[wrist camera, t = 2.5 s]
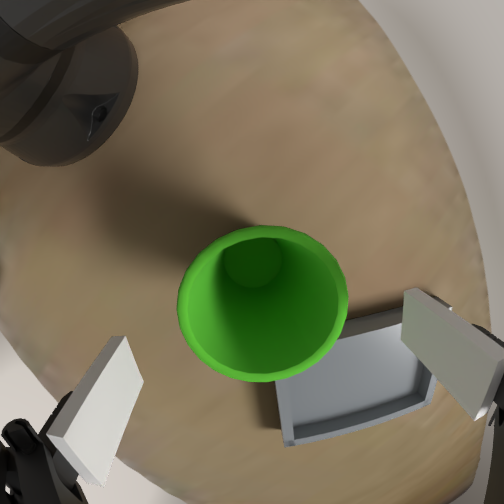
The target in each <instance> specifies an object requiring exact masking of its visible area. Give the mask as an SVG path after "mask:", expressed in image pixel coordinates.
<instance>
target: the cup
mask: <svg viewBox="0 0 504 504" xmlns="http://www.w3.org/2000/svg"><path fill="white" fill-rule="evenodd" d="M347 309H348V290H347V285H346V280H345V276H344V274H343V272H342V270H341V268H340V266H339V264H338V262H337V260H336V259H335V258H334V257H333V256H332V254H331V253H330V252H329V251H328V250H327V249H326V248H325V247H324V246H323V245H322V244H321V243H319V242H318V241H316V240H314V239H313V238H311V237H310V236H308V235H307V234H305V233H302V232H299V231H296V230H293V229H290V228H287V227H282V226H266V225H259V226H254V227H248V228H243V229H238V230H235V231H233V232H231V233H229V234H226V235H224V236H222V237H220V238H218V239H216V240H215V241H213V242H212V243H211V244H210V245H208V246H207V247H206V248H205V249H203V250H202V251H201V252H200V253H199V254H198V255H197V256H196V258H195V259H194V260H193V262H192V263H191V264H190V266H189V267H188V268H187V270H186V272H185V274H184V277H183V279H182V282H181V284H180V287H179V290H178V299H177V315H178V320H179V326H180V329H181V331H182V333H183V336H184V338H185V340H186V342H187V344H188V345H189V347H190V348H191V349H192V350H193V352H194V353H195V354H196V355H197V356H198V358H199V359H200V360H201V361H203V362H204V363H205V364H207V365H208V366H209V367H211V368H212V369H213V370H215V371H217V372H219V373H221V374H223V375H226V376H228V377H230V378H234V379H238V380H243V381H248V382H271V381H276V380H281V379H286V378H289V377H291V376H294V375H296V374H298V373H301V372H303V371H305V370H306V369H308V368H309V367H311V366H312V365H314V364H315V363H317V362H318V361H319V360H320V359H321V358H322V357H323V356H324V355H325V354H326V353H327V352H328V351H329V350H330V349H331V348H332V346H333V345H334V343H335V342H336V340H337V339H338V337H339V335H340V334H341V331H342V328H343V325H344V322H345V319H346V316H347Z"/></svg>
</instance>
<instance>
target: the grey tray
mask: <svg viewBox="0 0 504 504" xmlns="http://www.w3.org/2000/svg"><path fill="white" fill-rule="evenodd" d="M433 299H435V300H436V301H438V302H439V303H441V304H442V305H444V306H445V307H447V308H448V309H450V310H451V311H452V306H450V305H449V304H447V303H446V302H444V301H443V300H441V299H440V298H438V297H434V298H433ZM402 318H403V307H399V308H395V309H391V310H388V311H384V312H380V313H376V314H372V315H368V316H363V317H359V318H355V319H350V320H346V321H345V322H344V325H343V328H342V331H341V334H340V335H339V337H338V339H337V340H336V342H335V343H334V345H333V346H332V348H331V349H330V350H329V351H328V352H327V353H326V354H325V355H324V356H323V357H322V358H321V359H320V360H319V361H318V362H317V363H315V364H314V365H312V366H311V367H309V368H308V369H306V370H305V371H303V372H301V373H298V374H296V375H294V376H291V377H289V378H286V379H281V380H276V381H274V383H275V389H276V396H277V403H278V410H279V417H280V424H281V431H282V436H283V442H284V447H289V446H295V445H300V444H305V443H310V442H315V441H319V440H323V439H328V438H332V437H336V436H340V435H343V434H347V433H351V432H354V431H357V430H361V429H364V428H367V427H370V426H374V425H377V424H380V423H383V422H385V421H388V420H391V419H394V418H397V417H399V416H402V415H404V414H407V413H410V412H412V411H415V410H417V409H419V408H422V407H424V406H426V405H429V404H430V403H431V400H432V397H433V393H434V390H435V386H436V383H437V378H436V377H435V376H434V375H433V374H432V373H431V372H430V371H429V370H428V368H427V367H426V366H425V365H424V364H423V363H422V362H421V361H420V360H419V359H418V358H417V357H416V356H415V355H414V354H413V352H412V351H411V350H410V349H409V348H408V347H407V346H406V345H405V344H404V343H403V342H402V341H401V330H402Z"/></svg>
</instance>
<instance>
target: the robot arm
mask: <svg viewBox="0 0 504 504" xmlns="http://www.w3.org/2000/svg"><path fill="white" fill-rule="evenodd" d="M186 1H190V0H0V146H2V147H3V148H5V149H6V150H8V151H9V152H11V153H13V154H14V155H16V156H18V157H19V158H20V159H22V160H23V161H25V162H27V163H29V164H33V165H36V166H53V167H55V166H65V165H69V164H72V163H75V162H77V161H79V160H81V159H83V158H85V157H87V156H88V155H90V154H91V153H92V152H94V151H95V150H96V149H98V148H99V147H100V146H101V145H102V144H103V143H104V142H105V141H106V140H107V139H108V138H109V137H110V136H111V134H112V133H113V132H114V131H115V129H116V128H117V127H118V125H119V124H120V122H121V121H122V119H123V117H124V116H125V114H126V112H127V110H128V108H129V106H130V103H131V101H132V98H133V95H134V92H135V89H136V84H137V79H138V59H137V55H136V51H135V49H134V46H133V44H132V43H131V41H130V40H129V38H128V37H127V36H126V35H125V33H124V32H123V31H122V30H121V29H120V28H119V27H118V26H117V25H118V24H120V23H123V22H125V21H128V20H130V19H133V18H135V17H138V16H141V15H144V14H146V13H149V12H152V11H155V10H158V9H161V8H165V7H168V6H171V5H175V4H178V3H182V2H186ZM401 341H402V342H403V343H404V344H405V345H406V346H407V347H408V348H409V349H410V350H411V351H412V352H413V354H414V355H415V356H416V357H417V358H418V359H419V360H420V361H421V362H422V363H423V364H424V365H425V366H426V367H427V368H428V370H429V371H430V372H431V373H432V374H433V375H434V376H435V377H436V378H437V379H438V380H439V382H440V383H441V384H442V385H443V386H444V387H445V388H446V389H447V390H448V392H449V393H450V394H451V395H452V396H453V397H454V398H455V399H456V401H457V402H458V403H459V404H460V405H461V406H462V407H463V409H464V410H465V411H466V412H467V413H468V414H469V415H470V417H471V418H472V419H473V420H474V421H475V420H477V419H478V418H480V417H482V416H483V415H485V414H486V413H488V411H489V409H490V407H491V404H492V402H493V401H494V402H495V403H496V404H497V407H496V409H495V411H494V414H493V416H492V418H491V420H490V422H489V426H491V424H492V422H493V420H494V419H495V423H494V440H493V451H492V460H491V467H490V474H489V480H488V485H487V491H486V495H485V500H484V504H504V342H503V341H501V340H500V339H497V337H496V336H494V335H493V334H491V333H490V332H489V331H487V330H486V329H484V328H483V327H481V326H478V325H475V324H470V323H468V322H467V321H466V320H464V319H463V318H461V317H460V316H458V315H457V314H456V313H454V312H453V311H451V310H450V309H448V308H447V307H445V306H444V305H442V304H441V303H439V302H438V301H436V300H435V299H433V298H432V297H430V296H429V295H427V294H426V293H424V292H423V291H421V290H420V289H418V288H413V289H409V290H405V291H404V303H403V318H402V330H401ZM142 385H143V379H142V377H141V375H140V372H139V370H138V367H137V365H136V362H135V360H134V357H133V355H132V352H131V349H130V347H129V344H128V341H127V338H126V336H113V337H111V338H110V340H109V341H108V342H107V344H106V345H105V347H104V348H103V349H102V351H101V352H100V354H99V355H98V356H97V358H96V359H95V361H94V362H93V363H92V365H91V366H90V368H89V369H88V371H87V372H86V374H85V375H84V376H83V378H82V379H81V381H80V382H79V384H78V385H77V387H76V388H75V390H74V391H70V392H69V393H68V394H67V395H65V396H64V397H63V398H62V399H61V400H60V402H59V403H58V405H57V408H55V410H54V411H53V412H52V415H50V417H49V418H48V420H47V422H46V423H45V425H44V426H43V428H42V429H41V431H40V432H39V434H37V433H36V432H35V430H34V429H33V428H32V426H31V425H30V423H29V422H28V421H27V420H25V419H21V418H20V419H14V420H12V421H11V422H9V423H8V424H7V425H6V426H5V427H4V428H3V430H2V434H1V436H2V437H3V438H4V440H5V441H6V442H7V444H8V445H9V446H10V447H5V446H4V445H3V443H2V442H1V441H0V504H88V502H87V500H86V497H85V495H84V493H83V491H82V489H81V486H80V485H79V484H78V482H77V481H76V479H77V477H78V475H80V476H81V477H82V478H83V480H84V481H85V482H86V483H88V484H93V485H97V486H102V487H104V485H105V482H106V479H107V476H108V473H109V471H110V468H111V465H112V462H113V460H114V457H115V454H116V451H117V449H118V446H119V443H120V441H121V438H122V435H123V433H124V430H125V428H126V425H127V422H128V420H129V417H130V415H131V412H132V410H133V407H134V405H135V402H136V400H137V397H138V395H139V392H140V390H141V387H142ZM6 485H7V486H8V487H9V488H10V494H8V493H7V492H6V491H5V486H6Z"/></svg>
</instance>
